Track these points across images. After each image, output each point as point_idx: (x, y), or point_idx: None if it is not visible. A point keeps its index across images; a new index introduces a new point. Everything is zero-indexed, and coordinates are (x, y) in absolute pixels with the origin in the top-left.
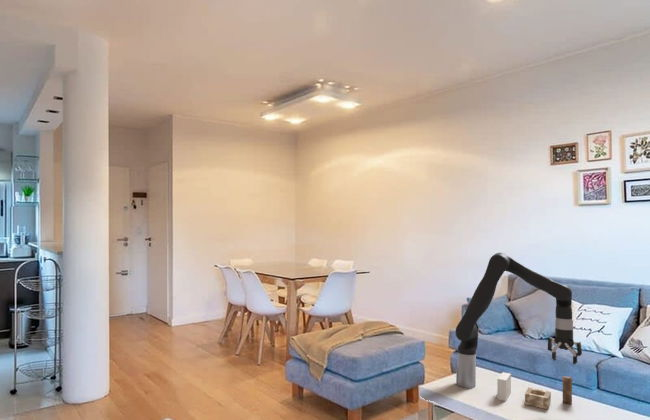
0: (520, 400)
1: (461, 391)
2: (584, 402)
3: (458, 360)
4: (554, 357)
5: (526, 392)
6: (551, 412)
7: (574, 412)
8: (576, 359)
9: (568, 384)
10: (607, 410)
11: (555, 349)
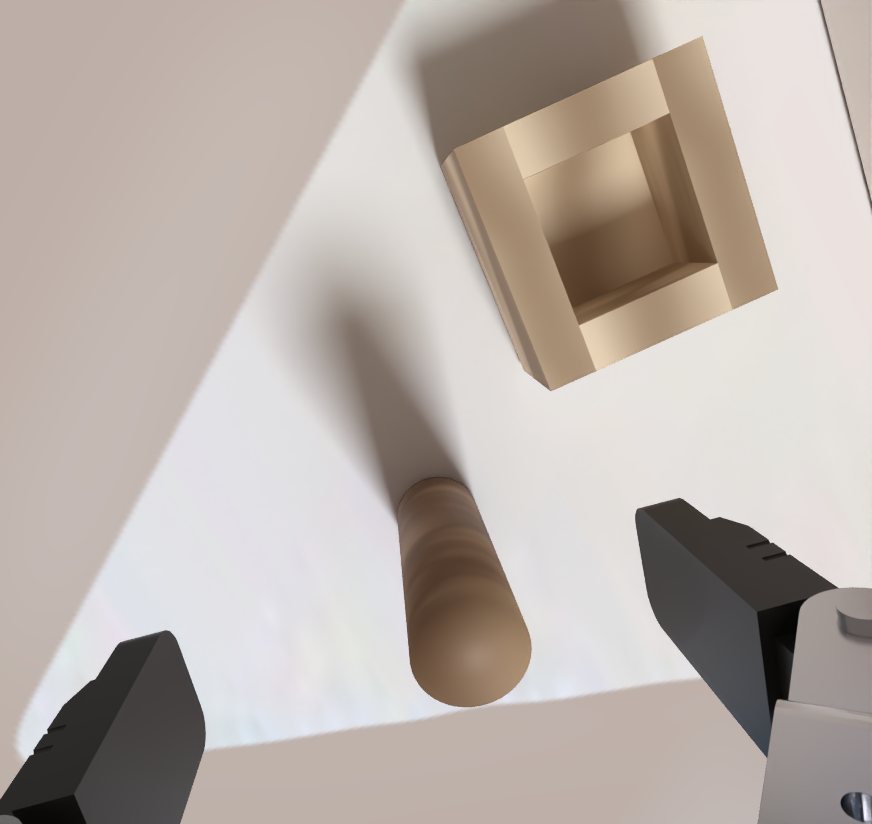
0: None
1: None
2: (360, 663)
3: None
4: (682, 534)
5: (708, 95)
6: (388, 141)
7: (272, 353)
8: (22, 778)
9: (423, 576)
10: None
11: (825, 711)
